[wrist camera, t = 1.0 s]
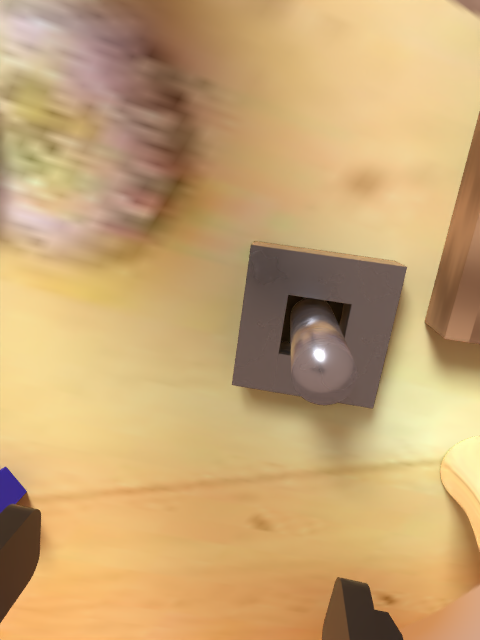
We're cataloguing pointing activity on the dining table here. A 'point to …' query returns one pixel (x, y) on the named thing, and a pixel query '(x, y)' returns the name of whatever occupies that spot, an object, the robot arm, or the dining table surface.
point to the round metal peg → (319, 354)
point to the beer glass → (464, 479)
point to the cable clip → (9, 489)
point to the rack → (461, 261)
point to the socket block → (325, 284)
